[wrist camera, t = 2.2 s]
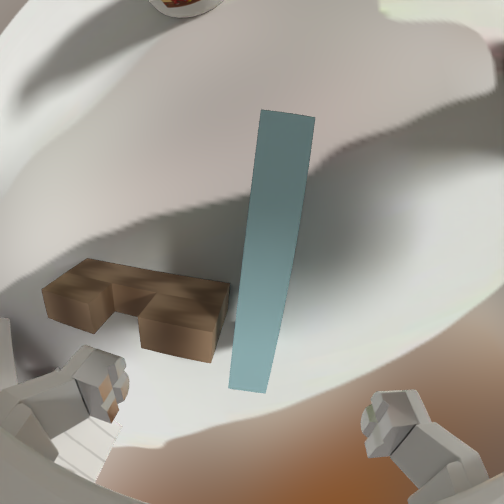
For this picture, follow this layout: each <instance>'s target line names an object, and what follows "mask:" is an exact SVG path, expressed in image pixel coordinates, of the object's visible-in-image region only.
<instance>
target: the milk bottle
mask: <svg viewBox="0 0 504 504" xmlns="http://www.w3.org/2000/svg"><path fill="white" fill-rule="evenodd" d="M148 1H149V2H150V3H151V4H152V5H153V6H154V7H155V8H156V9H157V10H159V11H160V12H161V13H163V14H164V15H167V16H170V17H177V18H187V17H193V16H197V15H200V14H203V13H205V12H208V11H210V10H211V9H213V8H215V7H216V6H217V5H219V4H220V3H221V2H222V1H223V0H148Z"/></svg>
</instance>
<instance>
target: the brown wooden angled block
mask: <svg viewBox="0 0 504 504" xmlns="http://www.w3.org/2000/svg"><path fill="white" fill-rule="evenodd" d="M229 289H230V283H225V282H218V281H212V280H206V279H199V278H193V277H187V276H181V275H175V274H170V273H164V272H158V271H152V270H147V269H141V268H136V267H130V266H125V265H120V264H115V263H109V262H104V261H99V260H94V259H89V258H87V259H86V260H84V261H82V262H81V263H79V264H78V265H76V266H75V267H73V268H72V269H70V270H69V271H67V272H66V273H64V274H63V275H62V276H60V277H59V278H57V279H56V280H54V281H53V282H51V283H50V284H49V285H47V286H46V287H44V288H43V289H42V294H43V298H44V303H45V307H46V311H47V315H48V318H50V319H53V320H55V321H58V322H61V323H63V324H66V325H69V326H72V327H75V328H77V329H80V330H83V331H86V332H89V333H92V334H95V333H96V331H97V330H98V329H99V328H100V327H101V326H102V325H103V324H104V323H105V322H106V320H107V319H108V318H109V317H110V316H111V315H112V314H113V313H114V312H115V311H116V312H120V313H124V314H128V315H132V316H136V317H138V324H139V333H140V342H141V348H144V349H148V350H152V351H156V352H160V353H164V354H168V355H172V356H177V357H182V358H186V359H191V360H196V361H201V362H206V363H211V361H212V358H213V355H214V352H215V349H216V345H217V342H218V339H219V336H220V333H221V329H222V326H223V323H224V320H225V317H226V313H227V310H228V299H229Z"/></svg>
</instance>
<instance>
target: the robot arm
mask: <svg viewBox="0 0 504 504" xmlns="http://www.w3.org/2000/svg"><path fill="white" fill-rule="evenodd" d="M125 368H126V363H125V359H124V358H122V357H120V356H117V355H114V354H111V353H108V352H105V351H102V350H99V349H96V348H93V347H90V346H88V345H83V346H81V347H80V349H79V350H78V351H77V352H76V353H75V354H74V355H73V357H72V358H71V359H70V360H69V361H68V362H67V363H66V365H65V366H64V367H63V368H62V369H61V371H60V372H57V371H54V372H51V373H49V374H46V375H43V376H40V377H37V378H34V379H31V380H28V381H25V382H23V383H20V384H17V385H14V386H11V387H7V388H4V389H3V390H2V391H1V392H0V504H149V503H146V502H143V501H139V500H137V499H133V498H131V497H128V496H125V495H123V494H120V493H117V492H115V491H112V490H110V489H107V488H105V487H103V486H100V485H98V484H96V483H94V482H91V481H89V480H87V479H85V478H83V477H81V476H79V475H77V474H75V473H73V472H71V471H69V470H67V469H65V468H63V467H62V466H60V465H58V464H56V463H55V462H54V461H55V460H56V458H57V456H58V454H59V452H58V449H57V448H56V447H55V445H54V444H53V442H52V441H51V439H53V438H55V437H56V436H58V435H60V434H62V433H64V432H65V431H67V430H69V429H70V428H72V427H74V426H76V425H77V424H79V423H81V422H82V421H84V420H86V419H87V418H89V417H90V416H92V417H94V418H97V419H100V420H102V421H105V422H108V423H111V424H112V422H113V420H114V418H115V416H116V415H117V413H118V411H119V408H118V404H119V403H121V402H123V401H124V400H125V398H126V396H127V394H128V390H129V377H128V375H127V374H126V373H125V371H124V369H125ZM371 402H372V404H371V405H369V406H368V407H366V408H365V410H364V412H363V414H362V419H361V429H362V433H363V434H364V435H365V436H366V437H367V440H366V442H365V446H366V451H367V456H368V458H374V457H385V456H390V458H391V459H392V460H393V461H394V463H395V464H396V465H397V466H398V467H399V468H400V469H401V470H402V471H403V472H404V473H405V474H406V476H407V477H408V478H409V479H410V480H411V481H412V482H413V483H414V484H415V485H416V486H417V487H418V489H419V490H418V491H416V492H415V493H414V494H413V495H411V496H410V497H409V499H408V504H504V472H502V473H501V474H499V475H497V476H495V477H493V478H491V479H489V477H488V474H487V472H486V469H485V467H484V465H483V462H482V460H481V458H480V456H479V454H478V452H476V451H475V450H473V449H472V448H471V447H469V446H468V445H466V444H465V443H464V442H462V441H461V440H459V439H458V438H457V437H455V436H454V435H452V434H451V433H450V432H448V431H447V430H445V429H444V428H443V427H441V426H440V425H438V424H437V423H436V422H431V419H430V417H429V415H428V413H427V411H426V409H425V406H424V404H423V402H422V400H421V398H420V396H419V394H418V392H417V391H416V390H402V391H401V390H399V391H377V392H376V393H374V394H373V396H372V398H371Z"/></svg>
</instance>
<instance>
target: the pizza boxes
mask: <svg viewBox="0 0 504 504" xmlns="http://www.w3.org/2000/svg"><path fill="white" fill-rule="evenodd" d="M54 371H57V372H60V371H61V370H60V368H59V367H57V368H56V369H55V370H54ZM54 371H53V372H54ZM17 384H18V380H17V375H16V369H15V362H14V355H13V348H12V338H11V327H10V319H9V318H3V317H0V392H1V391H2V390H3V389H4V388H7V387H11V386H14V385H17ZM122 427H123V426H122V425H120V424H119V423H118V422H117V421H115V420H113V422H112V424H111V423H108V422H105V421H102V420H100V419H97V418H94V417H92V416H90V417H89V418H87V419H86V420H84V421H82V422H81V423H79V424H77V425H76V426H74V427H72V428H70V429H69V430H67V431H65V432H64V433H62V434H60V435H58V436H56V437H55V438H53V439H51V441H52V442H53V444H54V445H55V447H56V448H57V449H58V452H59V454H58V456H57V458H56V460H55V461H54V462H55V463H56V464H58V465H60V466H62V467H63V468H65V469H67V470H69V471H71V472H73V473H75V474H77V475H79V476H81V477H83V478H85V479H87V480H89V481H91V482H94V483H95V481H96V479H97V477H98V475H99V473H100V471H101V469H102V467H103V465H104V463H105V461H106V459H107V457H108V455H109V452H110V451H111V449H112V447H113V445H114V443H115V441H116V439H117V437H118V435H119V433H120V431H121V429H122Z"/></svg>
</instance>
